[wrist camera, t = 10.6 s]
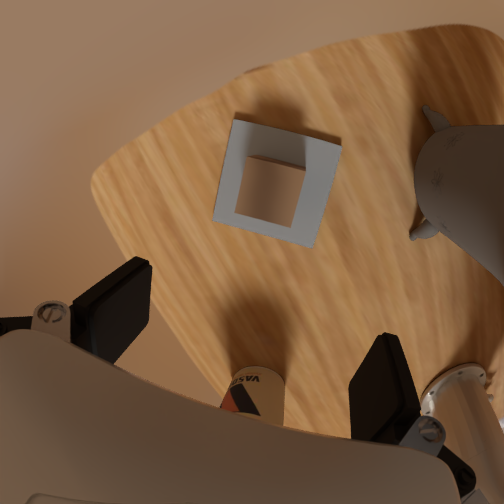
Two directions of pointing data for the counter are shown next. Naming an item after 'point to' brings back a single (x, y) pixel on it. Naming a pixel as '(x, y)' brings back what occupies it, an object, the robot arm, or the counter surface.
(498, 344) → the counter surface
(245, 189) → the walnut cube
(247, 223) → the plate
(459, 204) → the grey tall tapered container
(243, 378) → the coffee cup
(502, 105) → the counter surface
